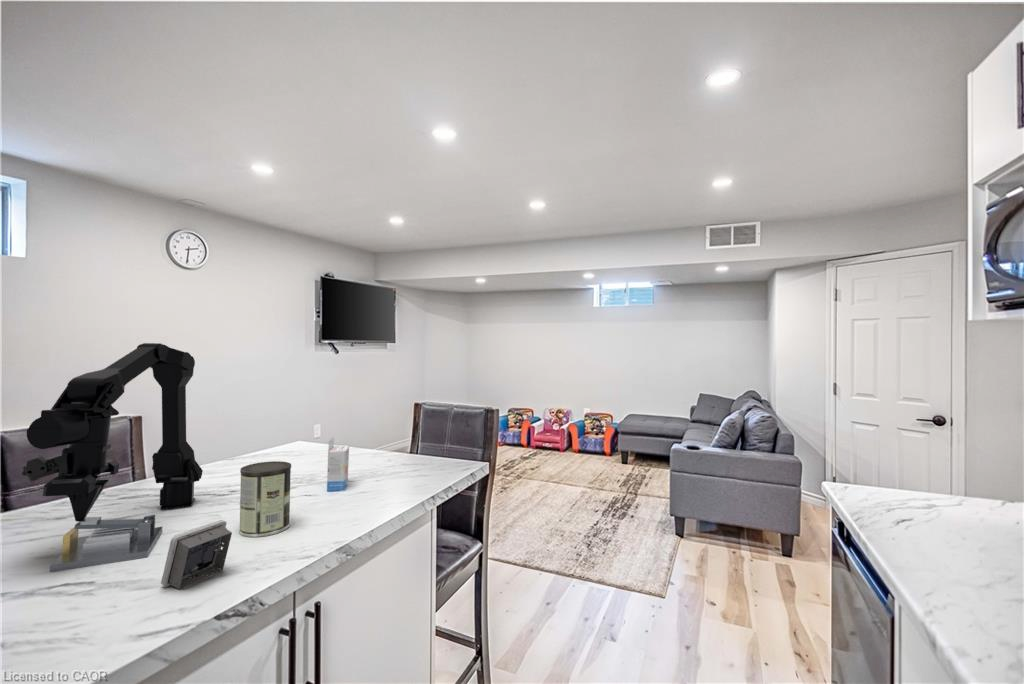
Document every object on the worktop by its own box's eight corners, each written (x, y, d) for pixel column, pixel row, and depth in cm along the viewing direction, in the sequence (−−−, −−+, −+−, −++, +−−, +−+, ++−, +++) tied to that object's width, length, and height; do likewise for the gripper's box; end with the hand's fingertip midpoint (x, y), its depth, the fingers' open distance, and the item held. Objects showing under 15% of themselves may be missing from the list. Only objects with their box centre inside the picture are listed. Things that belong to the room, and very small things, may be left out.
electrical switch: (213, 565, 87) (218, 516, 87) (232, 573, 85) (237, 523, 85) (159, 588, 78) (164, 534, 78) (178, 597, 76) (184, 542, 76)
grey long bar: (152, 524, 97) (153, 515, 97) (148, 528, 94) (150, 520, 94) (79, 526, 91) (80, 517, 91) (73, 530, 89) (75, 521, 89)
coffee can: (265, 518, 112) (267, 459, 112) (299, 523, 108) (301, 463, 109) (227, 533, 102) (229, 469, 102) (263, 540, 98) (265, 473, 99)
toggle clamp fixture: (162, 532, 102) (163, 508, 102) (147, 557, 90) (148, 530, 90) (78, 543, 95) (79, 517, 96) (49, 572, 83) (51, 542, 83)
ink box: (344, 491, 134) (346, 440, 134) (326, 492, 133) (327, 440, 133) (348, 483, 142) (349, 435, 143) (331, 483, 141) (332, 435, 142)
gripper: (55, 433, 96) (46, 509, 95) (8, 449, 79) (-4, 542, 78) (123, 433, 101) (115, 505, 100) (92, 448, 84) (82, 535, 83)
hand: (79, 520), depth 90 cm, fingers closed, pressing on grey long bar
